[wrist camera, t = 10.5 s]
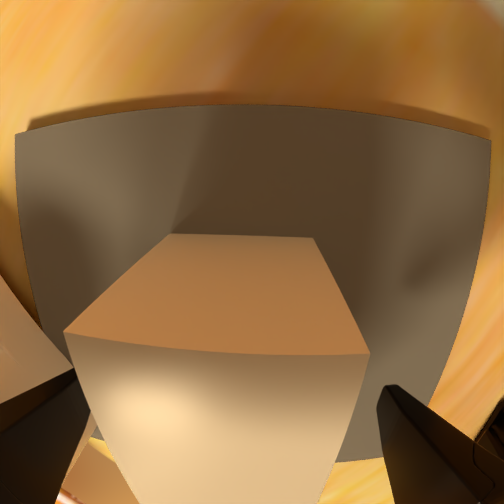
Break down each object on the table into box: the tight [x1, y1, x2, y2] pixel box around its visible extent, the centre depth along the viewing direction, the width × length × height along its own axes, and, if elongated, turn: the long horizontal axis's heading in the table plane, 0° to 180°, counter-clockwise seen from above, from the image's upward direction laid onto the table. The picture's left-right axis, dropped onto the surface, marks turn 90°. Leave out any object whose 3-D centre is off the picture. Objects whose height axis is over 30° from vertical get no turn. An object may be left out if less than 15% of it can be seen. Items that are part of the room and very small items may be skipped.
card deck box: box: [63, 234, 370, 504], centre depth 8 cm, size 8×4×6 cm, turn 179°
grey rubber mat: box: [15, 105, 491, 463], centre depth 11 cm, size 18×16×1 cm
